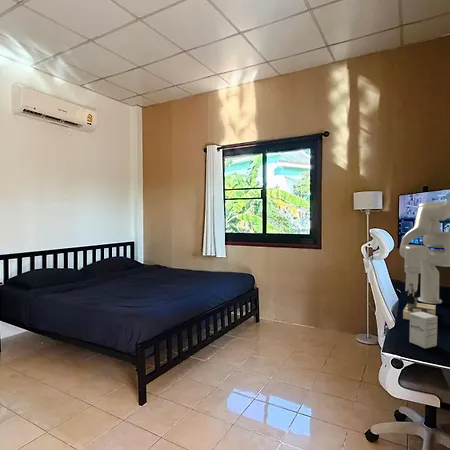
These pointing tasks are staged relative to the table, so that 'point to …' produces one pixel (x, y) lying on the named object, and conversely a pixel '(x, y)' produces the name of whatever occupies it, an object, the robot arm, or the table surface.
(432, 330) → the supplement box
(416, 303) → the fader tab
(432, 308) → the fader console
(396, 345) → the table surface
